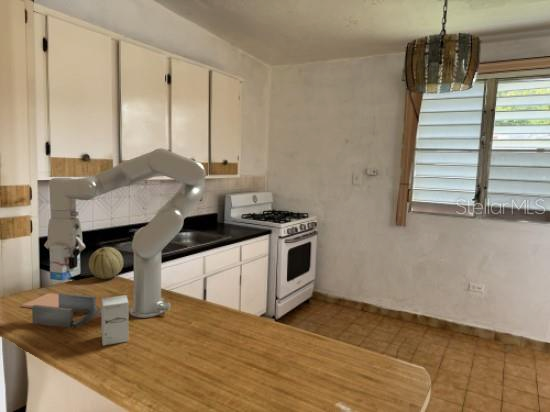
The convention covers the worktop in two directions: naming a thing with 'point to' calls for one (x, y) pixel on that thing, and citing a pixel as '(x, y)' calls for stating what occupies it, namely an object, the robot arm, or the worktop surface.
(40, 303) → the plate
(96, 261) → the cantaloupe
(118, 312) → the supplement box
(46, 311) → the grey frame rack
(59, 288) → the worktop surface
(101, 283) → the worktop surface
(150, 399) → the worktop surface
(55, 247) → the ink box
